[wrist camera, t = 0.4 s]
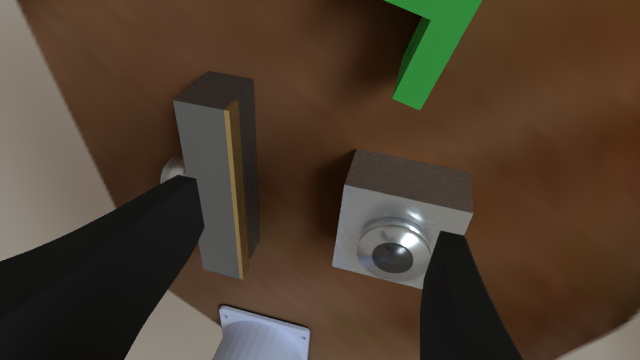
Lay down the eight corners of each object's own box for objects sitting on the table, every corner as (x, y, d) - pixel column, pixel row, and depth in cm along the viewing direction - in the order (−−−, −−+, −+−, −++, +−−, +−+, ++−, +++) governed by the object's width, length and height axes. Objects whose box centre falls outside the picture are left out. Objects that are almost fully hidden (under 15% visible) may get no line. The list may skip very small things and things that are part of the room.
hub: (439, 247, 24) (437, 311, 21) (344, 224, 25) (327, 281, 22) (470, 169, 21) (474, 230, 17) (357, 146, 22) (339, 199, 18)
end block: (263, 240, 28) (243, 279, 25) (200, 225, 28) (175, 261, 26) (257, 80, 20) (229, 110, 18) (174, 65, 21) (133, 92, 18)
